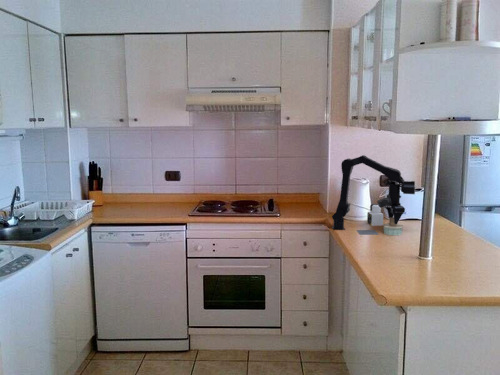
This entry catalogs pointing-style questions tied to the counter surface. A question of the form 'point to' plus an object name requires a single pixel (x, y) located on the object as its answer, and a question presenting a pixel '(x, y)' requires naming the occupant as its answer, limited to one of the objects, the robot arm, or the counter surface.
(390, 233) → the bowl
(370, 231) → the mat
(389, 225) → the lid
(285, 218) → the counter surface
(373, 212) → the medicine bottle
